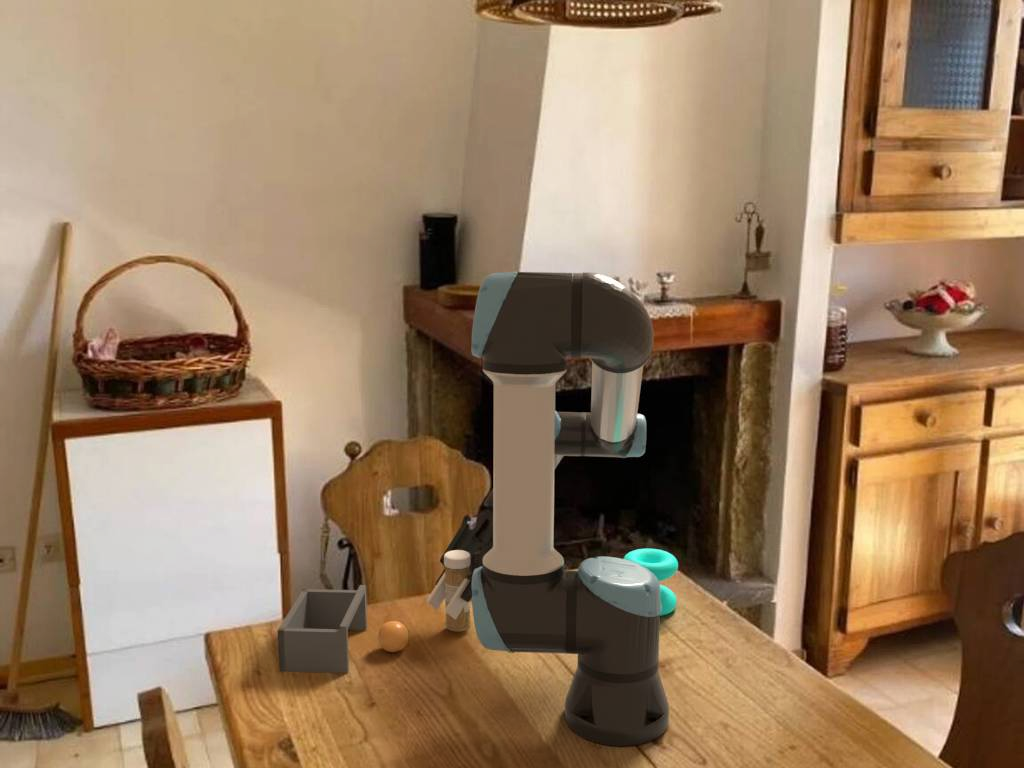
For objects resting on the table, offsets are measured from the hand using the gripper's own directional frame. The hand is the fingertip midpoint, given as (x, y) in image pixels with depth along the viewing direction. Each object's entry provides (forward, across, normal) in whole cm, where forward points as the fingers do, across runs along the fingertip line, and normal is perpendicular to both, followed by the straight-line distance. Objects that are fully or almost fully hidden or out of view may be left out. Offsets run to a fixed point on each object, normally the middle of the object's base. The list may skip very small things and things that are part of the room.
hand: (440, 610), depth 168 cm
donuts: (-22, -16, -29) cm, 39 cm away
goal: (+15, +10, +8) cm, 20 cm away
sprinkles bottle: (0, 0, -6) cm, 6 cm away
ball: (+8, +2, +5) cm, 9 cm away
